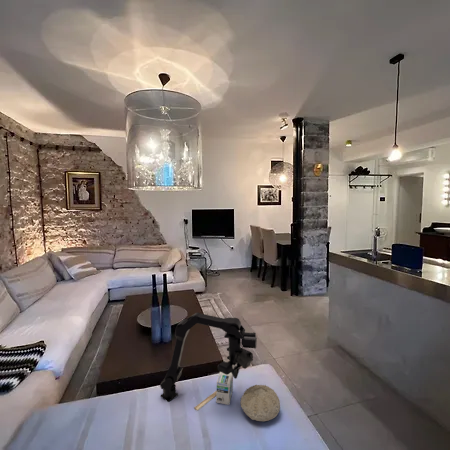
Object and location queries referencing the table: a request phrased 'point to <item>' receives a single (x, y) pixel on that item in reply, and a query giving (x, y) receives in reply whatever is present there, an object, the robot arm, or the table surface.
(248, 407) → the beige carved stone
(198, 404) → the rail
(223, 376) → the light bulb box
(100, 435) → the table surface
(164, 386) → the robot arm
